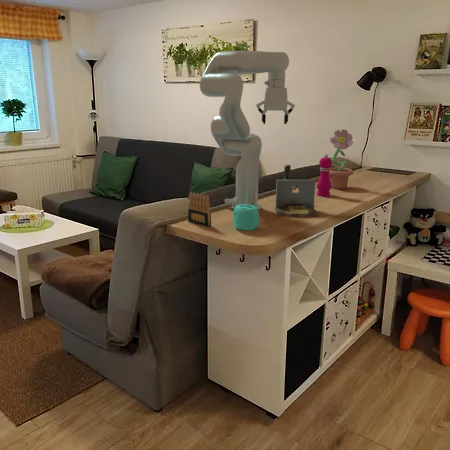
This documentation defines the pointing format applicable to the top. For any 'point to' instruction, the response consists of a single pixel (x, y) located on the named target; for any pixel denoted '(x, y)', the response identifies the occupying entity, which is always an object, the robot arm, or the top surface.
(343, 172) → the decorative flower
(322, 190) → the pepper mill
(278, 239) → the top surface
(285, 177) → the shaft
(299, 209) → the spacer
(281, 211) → the base board
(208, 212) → the ammunition clip
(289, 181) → the grey rectangular panel
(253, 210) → the decorative dice
